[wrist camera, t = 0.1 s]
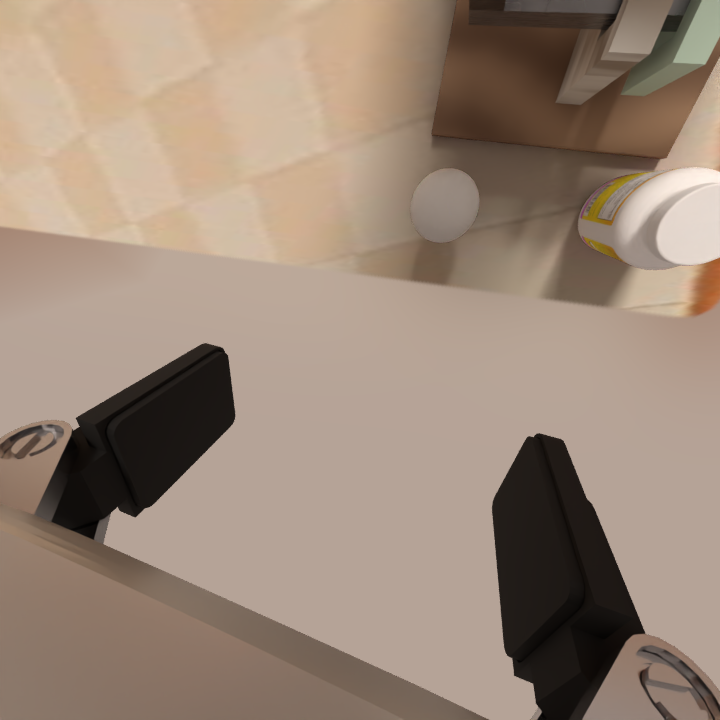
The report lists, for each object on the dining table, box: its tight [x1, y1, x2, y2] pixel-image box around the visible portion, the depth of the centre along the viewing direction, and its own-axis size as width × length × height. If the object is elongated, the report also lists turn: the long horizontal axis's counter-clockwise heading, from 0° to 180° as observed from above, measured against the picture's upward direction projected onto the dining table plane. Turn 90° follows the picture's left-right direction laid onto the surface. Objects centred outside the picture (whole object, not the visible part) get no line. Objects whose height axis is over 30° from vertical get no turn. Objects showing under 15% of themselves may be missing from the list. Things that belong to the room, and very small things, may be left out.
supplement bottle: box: [578, 167, 720, 270], centre depth 24 cm, size 7×7×13 cm
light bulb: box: [410, 168, 480, 243], centre depth 29 cm, size 6×6×10 cm
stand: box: [432, 0, 720, 159], centre depth 20 cm, size 12×20×13 cm, turn 83°
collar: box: [620, 0, 720, 96], centre depth 17 cm, size 6×2×6 cm, turn 173°
